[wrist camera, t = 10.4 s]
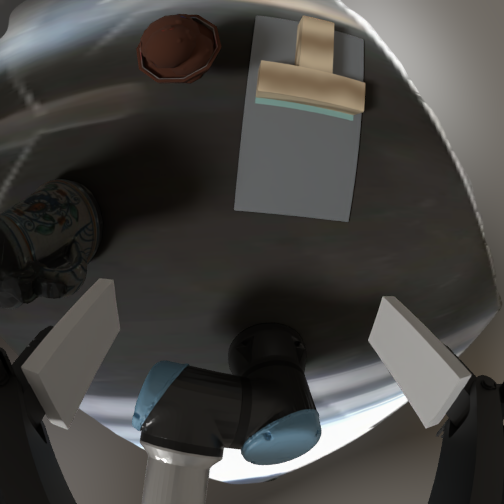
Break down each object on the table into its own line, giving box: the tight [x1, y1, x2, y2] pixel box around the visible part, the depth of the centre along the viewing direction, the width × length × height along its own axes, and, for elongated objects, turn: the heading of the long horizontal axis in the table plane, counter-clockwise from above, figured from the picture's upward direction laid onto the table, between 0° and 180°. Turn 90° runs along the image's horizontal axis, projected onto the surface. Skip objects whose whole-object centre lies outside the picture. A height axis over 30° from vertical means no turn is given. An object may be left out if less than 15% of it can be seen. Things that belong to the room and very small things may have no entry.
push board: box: [234, 15, 364, 222], centre depth 38 cm, size 34×19×1 cm, turn 174°
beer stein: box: [0, 179, 103, 309], centre depth 29 cm, size 16×19×25 cm
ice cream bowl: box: [136, 14, 221, 83], centre depth 27 cm, size 11×11×15 cm
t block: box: [256, 16, 365, 115], centre depth 33 cm, size 15×16×4 cm
